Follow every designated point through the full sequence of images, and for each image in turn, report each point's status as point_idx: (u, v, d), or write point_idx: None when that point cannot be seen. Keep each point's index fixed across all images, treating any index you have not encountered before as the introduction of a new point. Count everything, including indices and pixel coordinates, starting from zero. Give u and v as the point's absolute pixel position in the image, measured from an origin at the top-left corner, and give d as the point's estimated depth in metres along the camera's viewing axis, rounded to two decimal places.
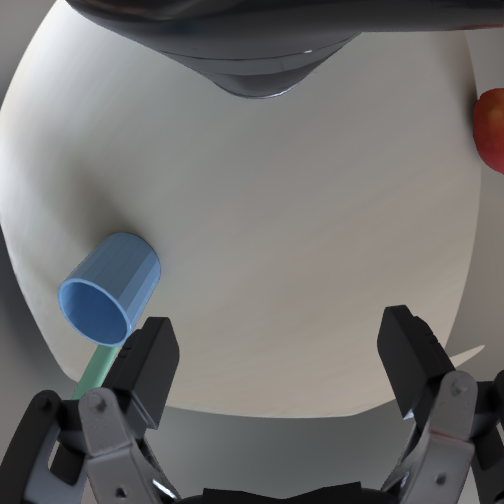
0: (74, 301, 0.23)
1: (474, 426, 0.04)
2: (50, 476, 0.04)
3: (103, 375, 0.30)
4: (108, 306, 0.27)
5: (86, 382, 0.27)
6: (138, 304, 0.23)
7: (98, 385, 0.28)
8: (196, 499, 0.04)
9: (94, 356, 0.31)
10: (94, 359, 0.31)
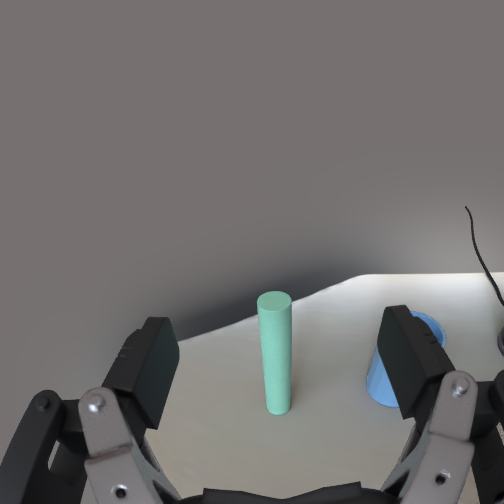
0: None
1: (474, 426, 0.04)
2: (50, 476, 0.04)
3: (284, 382, 0.25)
4: None
5: None
6: None
7: (284, 370, 0.24)
8: (196, 499, 0.04)
9: None
10: None
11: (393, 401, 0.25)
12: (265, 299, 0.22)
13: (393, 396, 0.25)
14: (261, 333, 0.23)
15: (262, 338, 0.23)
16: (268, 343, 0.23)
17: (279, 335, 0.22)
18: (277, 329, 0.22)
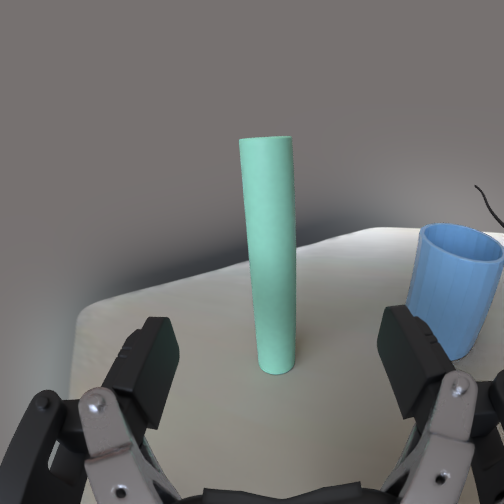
0: None
1: (474, 426, 0.04)
2: (50, 476, 0.04)
3: (285, 302, 0.16)
4: None
5: None
6: (497, 285, 0.14)
7: (285, 275, 0.16)
8: (196, 499, 0.04)
9: None
10: None
11: (445, 349, 0.17)
12: None
13: (446, 339, 0.16)
14: (245, 194, 0.14)
15: (247, 204, 0.15)
16: (256, 210, 0.14)
17: (275, 190, 0.14)
18: (271, 175, 0.13)
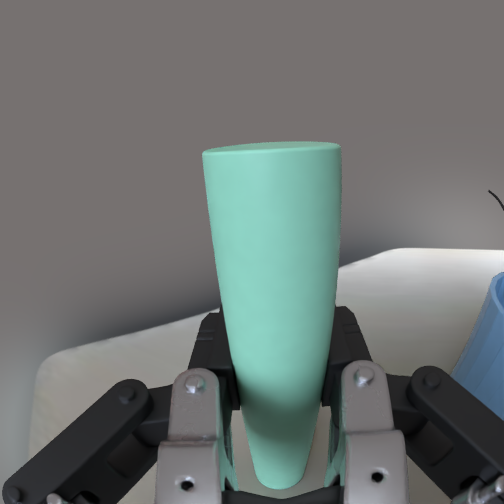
0: None
1: None
2: (105, 468, 0.04)
3: (298, 443, 0.08)
4: None
5: None
6: None
7: (303, 419, 0.07)
8: None
9: None
10: None
11: None
12: (236, 146, 0.06)
13: None
14: (222, 290, 0.06)
15: (226, 311, 0.06)
16: (249, 333, 0.06)
17: (297, 296, 0.05)
18: (288, 259, 0.05)
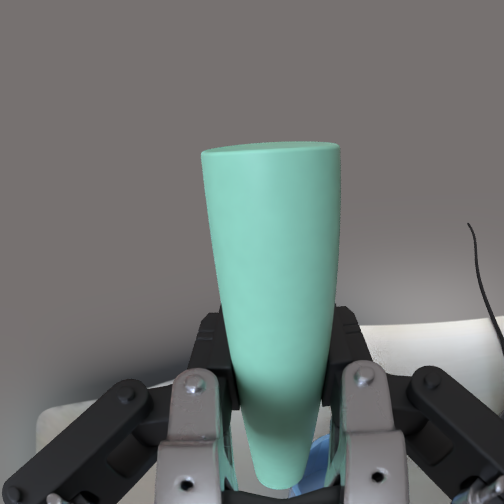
0: (313, 454, 0.17)
1: None
2: (105, 468, 0.04)
3: (298, 443, 0.08)
4: None
5: None
6: None
7: (303, 419, 0.07)
8: None
9: None
10: None
11: None
12: (235, 146, 0.06)
13: None
14: (221, 291, 0.06)
15: (225, 311, 0.06)
16: (248, 333, 0.06)
17: (296, 296, 0.05)
18: (287, 260, 0.05)
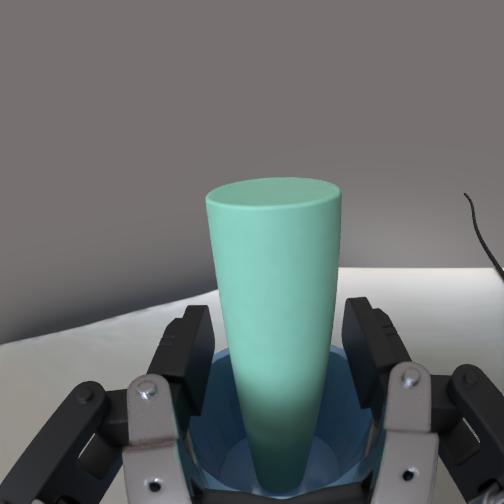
0: (234, 380, 0.12)
1: (431, 421, 0.05)
2: (78, 469, 0.04)
3: (297, 453, 0.08)
4: (208, 456, 0.11)
5: None
6: None
7: (302, 433, 0.08)
8: (196, 499, 0.04)
9: None
10: None
11: None
12: (239, 188, 0.06)
13: None
14: (227, 325, 0.06)
15: (230, 343, 0.06)
16: (252, 363, 0.06)
17: (295, 334, 0.05)
18: (288, 304, 0.05)
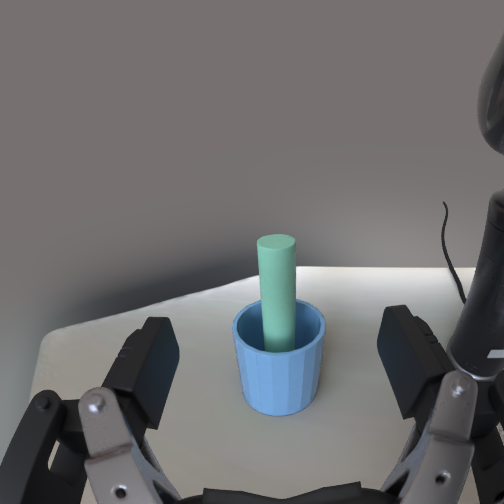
0: (256, 320, 0.27)
1: (474, 426, 0.04)
2: (50, 476, 0.04)
3: (287, 347, 0.23)
4: None
5: None
6: (305, 368, 0.21)
7: (288, 331, 0.22)
8: (196, 499, 0.04)
9: None
10: None
11: (262, 406, 0.23)
12: (266, 240, 0.20)
13: (259, 400, 0.23)
14: (261, 281, 0.21)
15: (262, 287, 0.21)
16: (269, 293, 0.21)
17: (282, 282, 0.20)
18: (280, 273, 0.20)
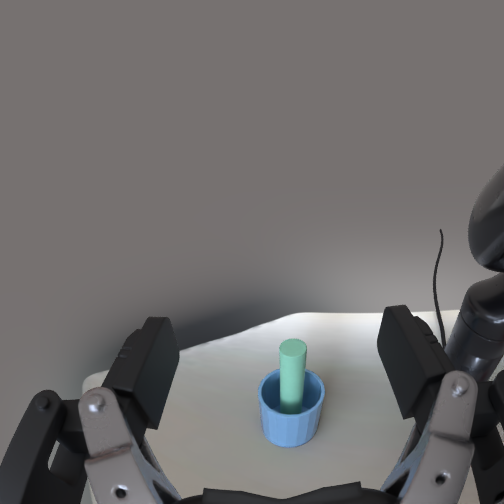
0: (273, 382, 0.34)
1: (474, 426, 0.04)
2: (50, 476, 0.04)
3: (297, 406, 0.30)
4: None
5: None
6: (309, 421, 0.28)
7: (298, 397, 0.29)
8: (196, 499, 0.04)
9: None
10: None
11: (278, 442, 0.30)
12: (286, 346, 0.27)
13: (276, 438, 0.30)
14: (281, 371, 0.27)
15: (281, 374, 0.28)
16: (286, 379, 0.27)
17: (296, 373, 0.27)
18: (295, 369, 0.26)
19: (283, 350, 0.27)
